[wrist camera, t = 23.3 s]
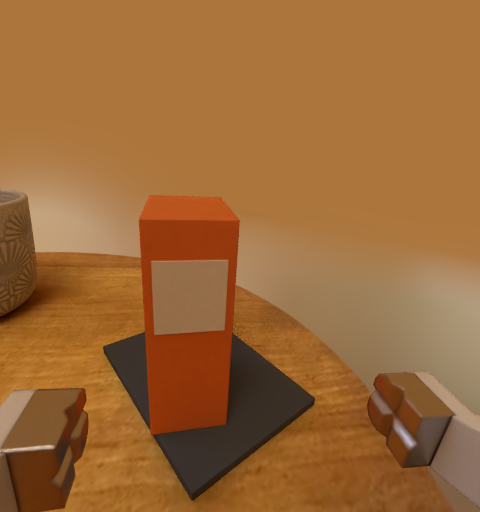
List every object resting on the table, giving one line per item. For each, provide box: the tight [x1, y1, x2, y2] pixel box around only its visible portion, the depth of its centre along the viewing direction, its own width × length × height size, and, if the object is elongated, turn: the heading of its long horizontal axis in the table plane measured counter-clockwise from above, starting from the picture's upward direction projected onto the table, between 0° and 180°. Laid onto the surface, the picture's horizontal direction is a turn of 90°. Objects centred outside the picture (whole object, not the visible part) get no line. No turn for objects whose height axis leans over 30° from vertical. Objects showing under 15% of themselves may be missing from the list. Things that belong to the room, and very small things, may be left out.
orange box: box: [139, 195, 240, 435], centre depth 18 cm, size 6×4×13 cm
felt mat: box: [103, 332, 315, 500], centre depth 23 cm, size 14×10×1 cm
